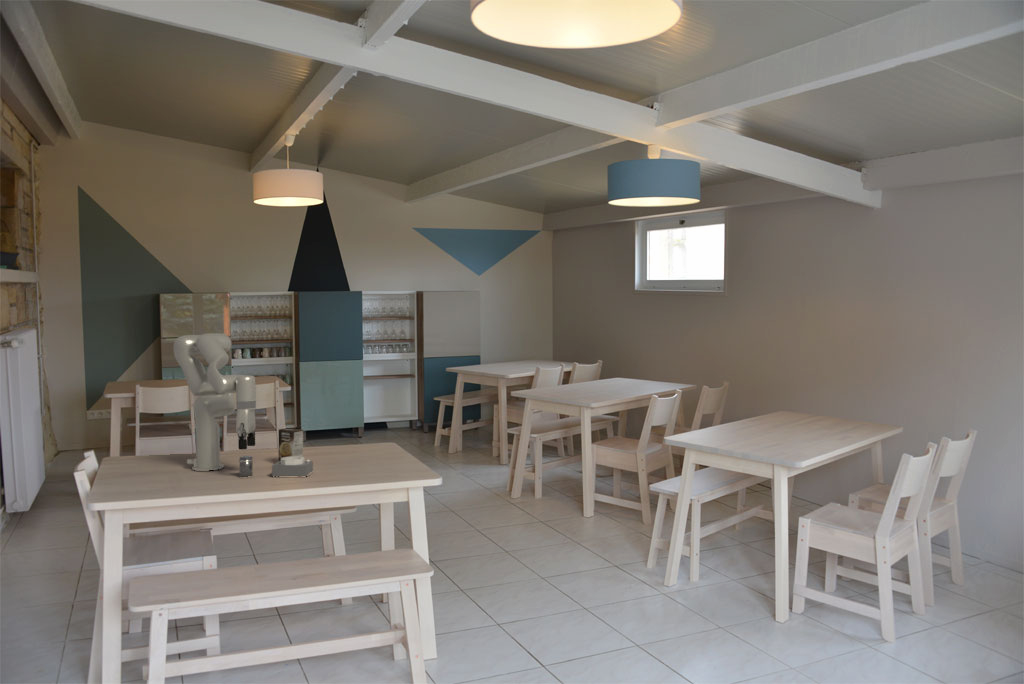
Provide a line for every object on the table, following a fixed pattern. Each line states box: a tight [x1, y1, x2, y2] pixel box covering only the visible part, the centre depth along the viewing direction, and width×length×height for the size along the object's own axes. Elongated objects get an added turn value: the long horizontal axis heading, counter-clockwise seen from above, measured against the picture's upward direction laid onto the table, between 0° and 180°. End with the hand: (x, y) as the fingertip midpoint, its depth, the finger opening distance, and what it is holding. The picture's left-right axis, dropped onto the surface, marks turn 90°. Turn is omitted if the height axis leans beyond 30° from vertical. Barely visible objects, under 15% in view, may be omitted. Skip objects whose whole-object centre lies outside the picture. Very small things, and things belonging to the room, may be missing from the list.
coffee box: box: [278, 427, 304, 461], centre depth 335 cm, size 9×6×16 cm
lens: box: [238, 455, 254, 478], centre depth 310 cm, size 5×5×8 cm
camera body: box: [271, 456, 314, 477], centre depth 314 cm, size 14×10×7 cm
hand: (247, 447), depth 310 cm, fingers open, 9 cm apart
